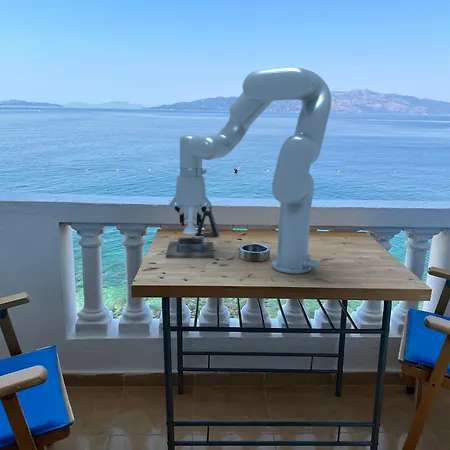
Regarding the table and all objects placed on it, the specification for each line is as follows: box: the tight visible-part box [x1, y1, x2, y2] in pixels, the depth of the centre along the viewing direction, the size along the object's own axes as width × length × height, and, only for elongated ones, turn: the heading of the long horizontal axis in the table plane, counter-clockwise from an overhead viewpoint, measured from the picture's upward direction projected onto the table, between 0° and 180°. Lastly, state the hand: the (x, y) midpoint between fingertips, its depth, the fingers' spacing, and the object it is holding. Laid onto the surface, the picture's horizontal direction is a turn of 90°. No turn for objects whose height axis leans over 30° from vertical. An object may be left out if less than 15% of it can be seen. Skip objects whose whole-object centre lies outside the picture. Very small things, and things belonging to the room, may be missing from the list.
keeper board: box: [165, 237, 215, 259], centre depth 160 cm, size 16×16×4 cm
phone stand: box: [194, 205, 220, 238], centre depth 180 cm, size 9×6×12 cm, turn 88°
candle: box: [182, 206, 198, 235], centre depth 158 cm, size 5×5×12 cm
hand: (190, 224), depth 158 cm, fingers closed on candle, 4 cm apart
